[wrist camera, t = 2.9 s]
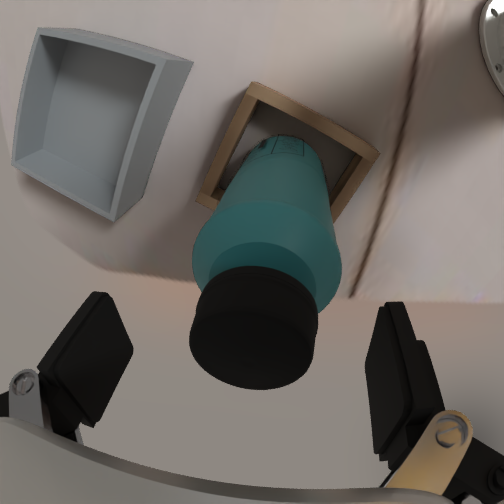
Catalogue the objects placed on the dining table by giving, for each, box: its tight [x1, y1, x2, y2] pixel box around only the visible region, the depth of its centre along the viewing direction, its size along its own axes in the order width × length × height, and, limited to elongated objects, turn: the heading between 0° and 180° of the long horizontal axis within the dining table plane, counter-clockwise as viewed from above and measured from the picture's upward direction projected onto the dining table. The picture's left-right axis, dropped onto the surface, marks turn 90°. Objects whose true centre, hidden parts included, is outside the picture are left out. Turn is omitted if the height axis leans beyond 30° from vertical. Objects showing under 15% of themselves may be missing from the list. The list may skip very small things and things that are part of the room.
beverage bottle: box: [189, 134, 342, 390], centre depth 17 cm, size 6×7×20 cm
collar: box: [196, 82, 380, 224], centre depth 25 cm, size 11×11×2 cm
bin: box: [11, 27, 194, 222], centre depth 22 cm, size 14×14×6 cm
